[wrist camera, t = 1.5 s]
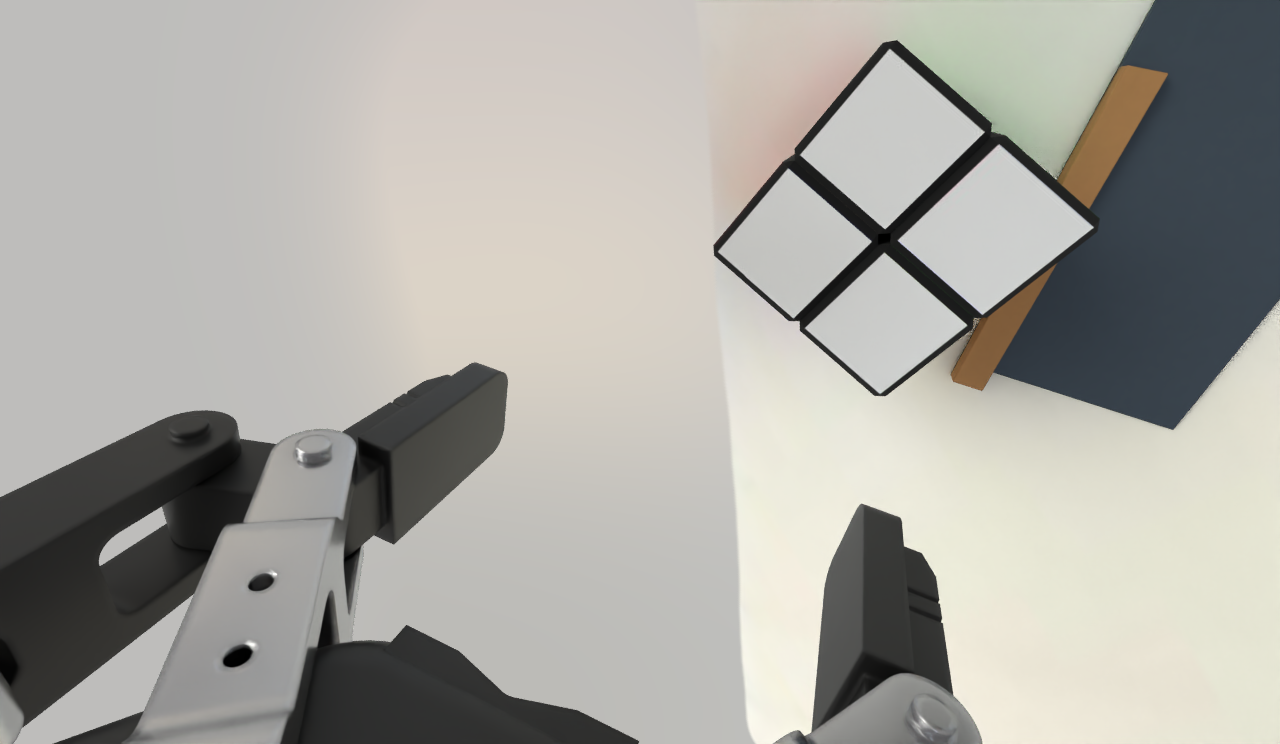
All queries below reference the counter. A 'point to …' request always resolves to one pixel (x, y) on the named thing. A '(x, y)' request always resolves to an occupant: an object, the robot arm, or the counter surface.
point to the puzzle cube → (900, 223)
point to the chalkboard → (1160, 223)
